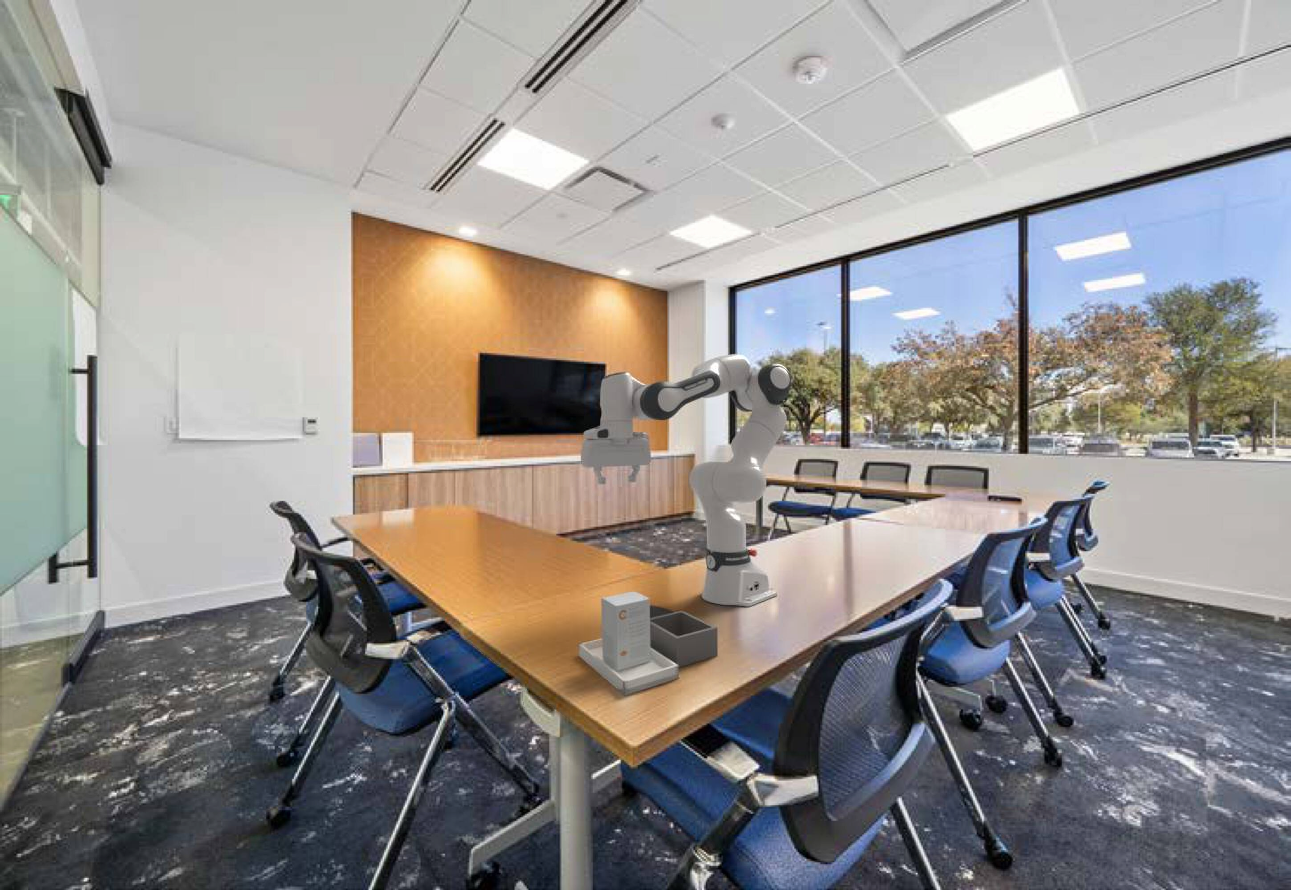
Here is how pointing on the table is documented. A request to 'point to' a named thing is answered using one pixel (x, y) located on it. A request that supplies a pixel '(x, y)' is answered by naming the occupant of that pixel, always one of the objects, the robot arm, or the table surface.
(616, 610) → the small box
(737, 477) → the robot arm
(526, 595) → the table surface
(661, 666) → the tray
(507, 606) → the table surface
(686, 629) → the box
